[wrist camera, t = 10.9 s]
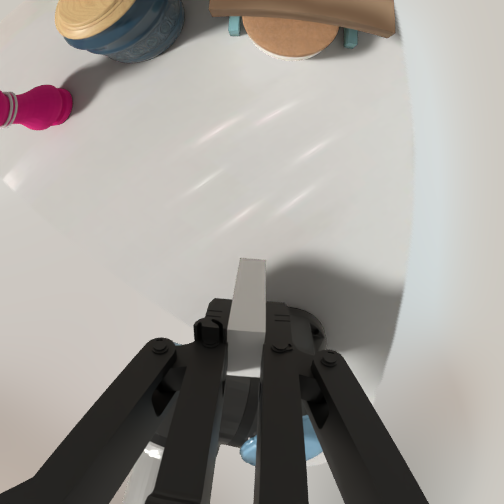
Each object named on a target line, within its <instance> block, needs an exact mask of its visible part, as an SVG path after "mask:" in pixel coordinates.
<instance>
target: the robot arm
mask: <svg viewBox="0 0 504 504" xmlns="http://www.w3.org/2000/svg"><path fill="white" fill-rule="evenodd" d="M194 339H195V341H194V342H192V343H189V344H185V345H182V344H178V343H175V342H173V341H171V340H170V339H167V338H155V339H152V340H150V341H149V342H148V343H147V344H146V345H145V346H144V347H143V348H142V349H141V350H140V351H139V353H138V354H137V355H136V356H135V357H134V358H133V359H132V361H131V362H130V363H129V364H128V365H127V366H126V367H125V369H124V370H123V371H122V372H121V373H120V374H119V376H118V377H117V378H116V379H115V380H114V381H113V383H112V384H111V385H110V386H109V387H108V388H107V389H106V391H105V392H104V393H103V394H102V395H101V396H100V398H99V399H98V400H97V401H96V402H95V403H94V405H93V406H92V407H91V408H90V409H89V411H88V412H87V413H86V414H85V415H84V416H83V418H82V419H81V420H80V421H79V422H78V424H77V425H76V426H75V427H74V428H73V429H72V431H71V432H70V433H69V435H67V437H66V438H65V439H64V440H63V441H62V443H61V444H60V445H59V446H58V447H57V449H56V450H55V451H54V453H53V454H52V455H51V456H50V457H49V458H48V460H47V461H46V462H45V463H44V464H43V466H42V467H41V468H40V470H39V471H38V472H37V473H36V474H35V476H34V477H33V478H31V479H29V480H27V481H25V482H23V483H21V484H19V485H17V486H15V487H13V488H11V489H9V490H7V491H5V492H3V493H1V494H0V504H109V503H110V501H111V500H112V498H113V497H114V495H115V494H116V492H117V491H118V489H119V488H120V486H121V484H122V483H123V482H124V480H125V478H126V477H127V475H128V474H129V472H130V475H129V480H128V484H127V487H126V492H125V495H124V499H123V503H122V504H210V497H211V490H212V482H213V474H214V468H215V460H216V457H217V454H218V450H219V447H220V445H221V444H224V445H229V446H234V447H238V448H240V454H241V457H242V459H243V460H244V461H245V462H246V463H249V464H251V465H253V466H255V485H254V503H253V504H309V502H308V486H307V470H306V461H307V460H309V459H311V458H313V457H315V456H317V455H319V454H320V453H321V452H323V453H324V455H325V458H326V460H327V462H328V464H329V467H330V469H331V472H332V474H333V477H334V479H335V481H336V483H337V486H338V488H339V491H340V493H341V496H342V498H343V500H344V503H345V504H429V503H428V501H427V500H426V498H425V496H424V494H423V492H422V490H421V489H420V487H419V485H418V483H417V481H416V480H415V478H414V476H413V474H412V473H411V471H410V469H409V467H408V466H407V464H406V462H405V460H404V459H403V457H402V455H401V453H400V452H399V450H398V448H397V446H396V445H395V443H394V441H393V440H392V438H391V436H390V435H389V433H388V431H387V429H386V428H385V426H384V424H383V423H382V421H381V419H380V417H379V416H378V414H377V412H376V411H375V409H374V407H373V406H372V404H371V402H370V401H369V399H368V397H367V396H366V394H365V392H364V391H363V389H362V387H361V386H360V384H359V382H358V381H357V379H356V377H355V376H354V374H353V372H352V371H351V369H350V368H349V366H348V364H347V363H346V361H345V359H344V358H343V357H342V356H341V355H340V354H339V353H337V352H335V351H332V350H326V337H325V332H324V329H323V326H322V325H321V323H320V322H319V320H318V319H317V318H316V317H314V316H313V315H311V314H310V313H308V312H306V311H303V310H300V309H296V308H289V307H287V306H286V304H285V303H280V302H266V260H259V259H246V258H240V262H239V268H238V273H237V278H236V284H235V289H234V295H233V300H230V299H218V298H215V299H213V300H212V301H211V302H210V303H209V306H208V309H207V312H206V316H205V318H202V319H199V320H198V321H196V322H195V324H194Z"/></svg>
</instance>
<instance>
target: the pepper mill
mask: <svg viewBox="0 0 504 504" xmlns="http://www.w3.org/2000/svg"><path fill="white" fill-rule="evenodd" d="M72 104H73V103H72V96H71V94H70V92H69V91H68V90H66V89H62V88H56V87H54V86H52V85H41V86H38V87H35V88H33V89H31V90H30V91H28V92H26V93H23V94H20V95H15V94H14V93H13V92H3V93H2V92H1V91H0V129H3V128H4V129H5V128H8V127H9V126H10V125H11V124H22V125H24V126H26V127H28V128H29V129H33V130H44V129H47V128H49V127H50V126H54V125H60V124H62V123H63V122H65V121H66V119H67V118H68V117H69V115H70V113H71V110H72Z"/></svg>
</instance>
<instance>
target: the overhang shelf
mask: <svg viewBox="0 0 504 504" xmlns="http://www.w3.org/2000/svg"><path fill="white" fill-rule="evenodd" d="M209 11H210V13H211V15H212V17H222V16H230V17H229V28H228V31H229V33H230V36H240V25H241V16H249V17H271V18H284V19H294V20H302V21H310V22H317V23H323V24H329V25H334V26H340V27H344V47H345V48H350V49H353V48H354V47H355V46H356V45H357V41H358V31H362V32H366V33H370V34H374V35H378V36H381V37H385V38H388V37H390V36H392V35H393V34H395V13H394V0H210V2H209Z"/></svg>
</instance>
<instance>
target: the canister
mask: <svg viewBox="0 0 504 504" xmlns="http://www.w3.org/2000/svg"><path fill="white" fill-rule="evenodd" d="M184 19H185V14H184V7H183V4H182V2H181V0H59V2H58V4H57V7H56V12H55V24H56V27H57V30H58V31H59V33H60V34H61V35H63V37H64V39H65V40H66V41H67V43H68V44H70V45H71V46H72V47H74V48H77V49H81V50H87V51H89V52H91V53H94V54H101V55H105V56H108V57H109V58H111V59H113V60H115V61H119V62H123V63H138V62H143V61H147V60H150V59H152V58H154V57H156V56H158V55H160V54H161V53H163V52H164V51H165V50H167V49H168V48H169V47H170V46H171V45H172V44H173V43H174V42H175V40H176V39H177V37H178V36H179V34H180V32H181V30H182V28H183V24H184Z"/></svg>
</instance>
